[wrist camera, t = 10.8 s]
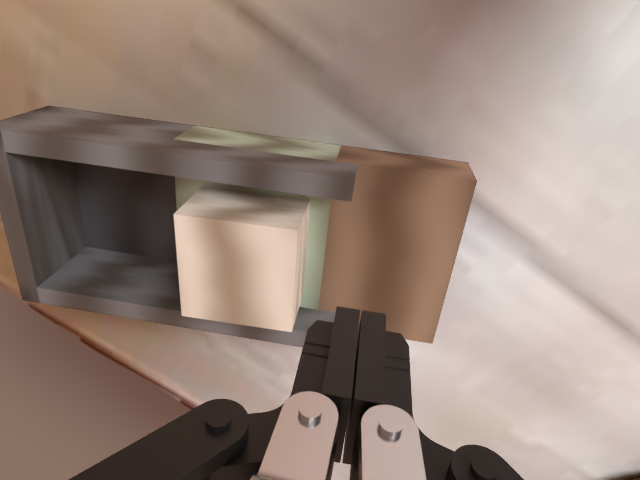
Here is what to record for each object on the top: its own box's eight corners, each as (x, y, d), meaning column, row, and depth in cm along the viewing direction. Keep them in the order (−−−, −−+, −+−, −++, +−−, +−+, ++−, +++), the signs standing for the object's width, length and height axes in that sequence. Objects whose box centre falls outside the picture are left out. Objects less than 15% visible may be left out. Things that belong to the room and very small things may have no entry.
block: (310, 199, 33) (297, 230, 29) (303, 292, 37) (291, 332, 32) (201, 186, 34) (173, 214, 29) (206, 278, 37) (181, 315, 33)
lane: (467, 162, 34) (484, 198, 28) (428, 313, 41) (435, 369, 35) (48, 105, 37) (-21, 127, 30) (74, 257, 43) (22, 300, 37)
